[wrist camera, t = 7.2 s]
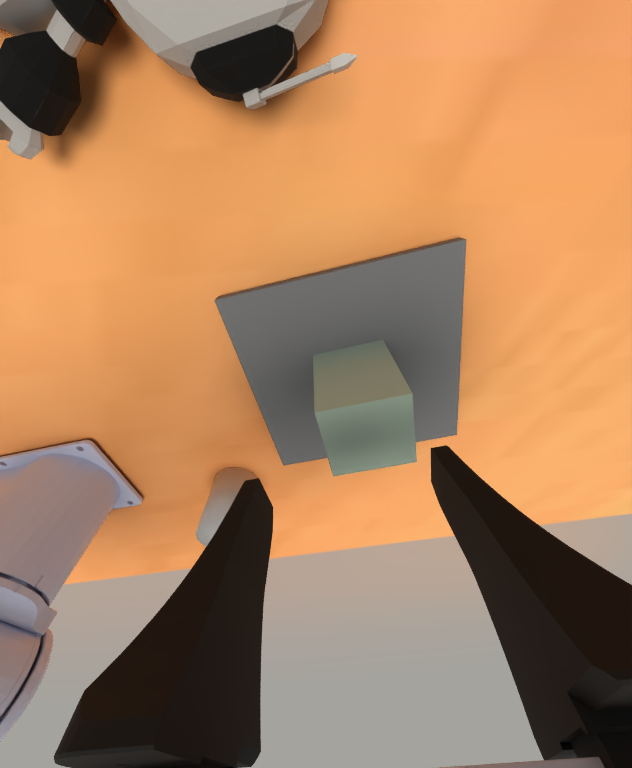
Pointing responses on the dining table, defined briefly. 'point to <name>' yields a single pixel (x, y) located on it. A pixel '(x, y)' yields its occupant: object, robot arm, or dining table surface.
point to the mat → (353, 337)
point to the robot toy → (164, 37)
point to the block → (363, 409)
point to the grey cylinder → (221, 500)
